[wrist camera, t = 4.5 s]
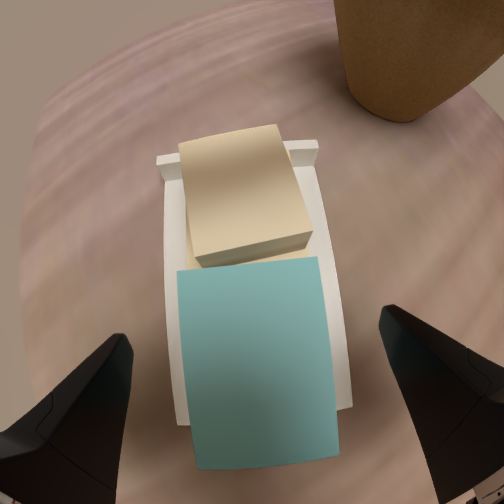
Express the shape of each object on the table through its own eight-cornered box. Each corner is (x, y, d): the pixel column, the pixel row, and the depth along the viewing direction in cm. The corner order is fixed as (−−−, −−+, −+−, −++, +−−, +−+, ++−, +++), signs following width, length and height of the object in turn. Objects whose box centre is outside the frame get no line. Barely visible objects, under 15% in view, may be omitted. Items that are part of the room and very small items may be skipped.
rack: (349, 404, 15) (364, 414, 12) (179, 422, 15) (167, 434, 12) (310, 162, 19) (316, 139, 17) (167, 177, 19) (157, 156, 17)
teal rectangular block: (293, 393, 14) (339, 455, 5) (231, 399, 14) (197, 469, 5) (283, 305, 16) (317, 256, 7) (222, 311, 16) (176, 270, 7)
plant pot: (289, 50, 24) (298, -87, 9) (410, 60, 24) (450, -44, 9) (333, 162, 19) (403, -56, 4) (474, 161, 20) (566, 47, 5)
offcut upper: (304, 249, 14) (313, 230, 12) (205, 271, 14) (194, 257, 12) (273, 152, 16) (275, 123, 14) (188, 170, 16) (178, 143, 13)
